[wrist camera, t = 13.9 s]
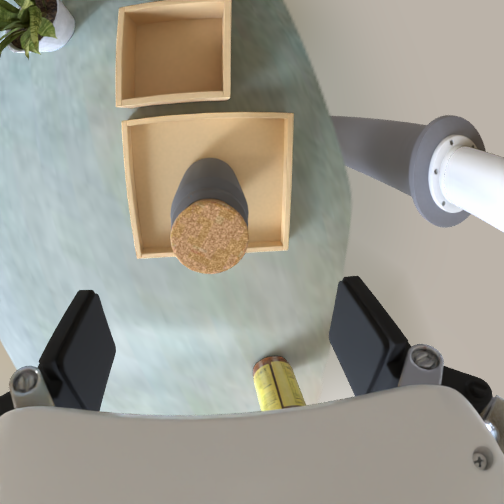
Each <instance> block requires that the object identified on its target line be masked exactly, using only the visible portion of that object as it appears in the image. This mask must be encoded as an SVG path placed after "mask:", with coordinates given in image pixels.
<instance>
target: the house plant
mask: <svg viewBox="0 0 504 504" xmlns="http://www.w3.org/2000/svg"><path fill="white" fill-rule="evenodd" d="M14 1H15V2H16V3H17V4H18V5H19V7H18V8H16V7H14V6H13V5H11V4H10V3H8V2H7V1H5V0H0V31H3V30H6V32H5V35H4V36H2V37H1V38H0V40H2V39H3V38H4V37H5V39H4V40H3V41H2V42H1V43H0V56H1V52H2V50H3V49H4V48H5V47H6V46H8V48H9V49H10V50H11V51H13V52H16V53H25V55H26V57H27V58H28V60H29V52H34V53H38V54H40V52H51V51H55V50H58V49H60V48H61V47H63V46H64V45H65V44H66V43H67V42H68V41H69V39H70V38H71V36H72V34H73V32H74V29H75V20H74V17H73V16H72V15H71V14H70V12H69V11H68V10H67V8H66V7H65V6H64V4H63V3H62V2H61V0H14ZM40 55H41V54H40Z"/></svg>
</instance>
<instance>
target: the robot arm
mask: <svg viewBox="0 0 504 504" xmlns="http://www.w3.org/2000/svg"><path fill="white" fill-rule="evenodd" d="M428 181H429V189H430V193H431V196H432V198H433V200H434V202H435V203H436V204H437V205H438V206H439V207H440V208H441V209H443V210H445V211H447V212H449V213H457V212H460V211H462V210H465V211H467V212H469V213H471V214H473V215H475V216H476V217H478V218H480V219H482V220H483V221H485V222H487V223H489V224H490V225H492V226H494V227H496V228H497V229H499V230H501V231H503V232H504V157H501V156H498V155H495V154H491V153H488V152H485V151H481V150H478V149H477V147H476V145H475V144H474V143H473V141H472V140H470V139H469V138H468V137H465V136H463V135H458V134H454V135H450V136H447V137H446V138H444V139H443V140H442V141H441V142H440V143H439V144H438V146H437V147H436V149H435V151H434V153H433V155H432V158H431V162H430V166H429V176H428ZM329 340H330V343H331V345H332V347H333V349H334V351H335V353H336V355H337V358H338V360H339V362H340V364H341V366H342V368H343V370H344V373H345V375H346V377H347V379H348V381H349V383H350V386H351V388H352V390H353V392H354V395H355V397H350V398H345V399H340V400H334V401H329V402H324V403H318V404H312V405H306V406H299V407H292V408H285V409H277V410H268V411H258V412H247V413H234V414H217V415H141V414H124V413H112V412H100V407H101V403H102V399H103V395H104V391H105V388H106V384H107V380H108V377H109V373H110V370H111V367H112V363H113V360H114V357H115V353H116V347H115V343H114V341H113V338H112V335H111V332H110V329H109V326H108V323H107V320H106V317H105V314H104V311H103V308H102V305H101V301H100V298H99V295H98V294H95V292H94V291H93V290H79V291H78V292H77V294H76V296H75V297H74V299H73V301H72V302H71V304H70V305H69V307H68V309H67V310H66V312H65V314H64V316H63V317H62V319H61V321H60V322H59V324H58V326H57V328H56V330H55V331H54V333H53V335H52V337H51V339H50V340H49V342H48V344H47V346H46V348H45V350H44V352H43V354H42V356H41V358H40V360H39V363H40V364H39V366H38V368H36V367H33V366H25V367H22V368H20V369H19V370H17V371H16V372H15V373H14V374H13V375H12V377H11V378H10V382H9V389H10V391H9V392H7V393H6V394H4V395H2V396H0V504H504V399H502V398H501V397H499V396H498V395H496V396H495V398H494V397H492V391H491V388H490V387H489V385H488V384H487V383H486V382H485V381H484V380H482V379H480V378H478V377H475V376H472V375H469V374H466V373H463V372H460V371H457V370H454V369H451V368H448V367H446V366H443V365H444V360H443V357H442V355H441V354H440V352H439V351H438V350H437V349H435V348H434V347H431V346H429V345H424V344H417V345H414V346H412V347H411V346H410V344H409V343H408V340H407V338H406V337H405V336H404V335H403V333H402V332H401V330H400V329H399V328H398V326H397V325H396V324H395V322H394V321H393V320H392V319H391V317H390V316H389V315H388V313H387V312H386V310H385V309H384V308H383V306H382V305H381V304H380V303H379V301H378V300H377V299H376V297H375V296H374V295H373V294H372V292H371V291H370V290H369V289H368V287H367V286H366V285H365V284H364V282H363V281H362V280H361V279H360V277H359V276H350V277H344V278H343V280H342V281H340V282H339V284H338V289H337V295H336V300H335V306H334V311H333V316H332V321H331V326H330V331H329Z"/></svg>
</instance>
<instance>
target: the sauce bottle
mask: <svg viewBox="0 0 504 504" xmlns="http://www.w3.org/2000/svg"><path fill="white" fill-rule="evenodd" d="M253 376H254V383H255V387H256V391H257V395H258V400H259V403H260V407H261V411H268V410H277V409H285V408H292V407H299V406H306V404H305V401H304V399H303V396H302V393H301V391H300V388H299V386H298V383H297V380H296V378H295V375H294V372H293V370H292V367H291V366H290V364H289V363H288V362H287V360H286V359H284V358H283V357H281V356H271V357H266V358H264V359H262V360H260V361H259V362H257V363H256V365H255V366H254V368H253Z"/></svg>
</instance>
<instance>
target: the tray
mask: <svg viewBox="0 0 504 504" xmlns="http://www.w3.org/2000/svg"><path fill="white" fill-rule="evenodd" d="M293 117H294V114H293V113H278V112H217V113H195V114H180V115H168V116H158V117H149V118H140V119H132V120H125V121H122V139H123V153H124V166H125V176H126V186H127V195H128V203H129V211H130V218H131V225H132V231H133V238H134V244H135V250H136V256H137V259H141V258H159V257H176V255H175V254H174V252H173V249H172V246H171V217H170V212H171V205H172V201H173V199H174V196H175V193H176V191H177V189H178V187H179V184H180V182H181V180H182V178H183V176H184V174H185V172H186V170H187V169H188V168H189V167H190V166H191V165H192V164H193V163H194V162H196V161H198V160H200V159H203V158H217V159H220V160H222V161H224V162H226V163H227V164H228V165H229V166H230V167H231V168H232V170H233V171H234V173H235V175H236V177H237V179H238V181H239V184H240V186H241V188H242V191H243V193H244V196H245V198H246V201H247V205H248V212H249V214H248V233H249V242H248V247H247V250H246V252H245V253H248V252H265V251H283V250H288V245H289V227H290V207H291V185H292V157H293Z"/></svg>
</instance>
